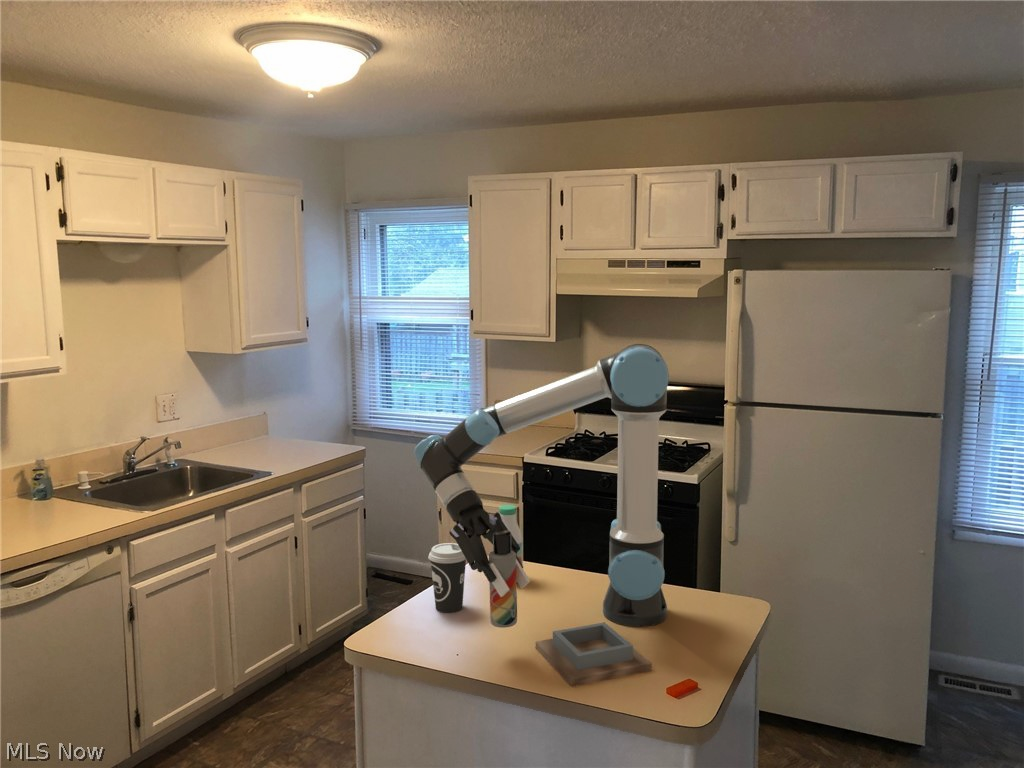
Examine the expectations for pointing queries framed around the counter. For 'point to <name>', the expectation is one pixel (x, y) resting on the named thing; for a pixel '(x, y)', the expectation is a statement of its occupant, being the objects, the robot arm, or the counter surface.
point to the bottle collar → (595, 658)
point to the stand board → (591, 674)
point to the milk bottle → (512, 526)
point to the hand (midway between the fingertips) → (515, 588)
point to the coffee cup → (448, 576)
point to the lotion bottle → (505, 562)
